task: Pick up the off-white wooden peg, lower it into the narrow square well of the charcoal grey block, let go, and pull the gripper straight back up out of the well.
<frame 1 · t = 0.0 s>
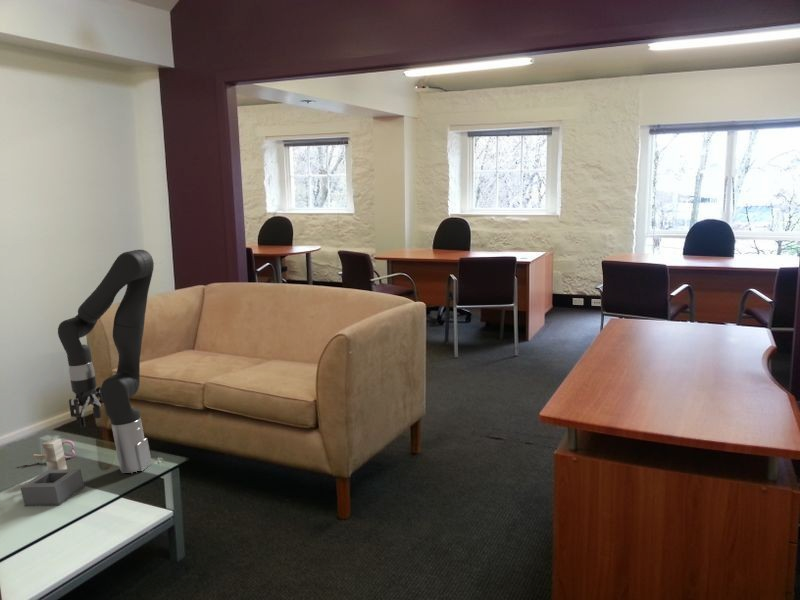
hand: (90, 422, 216), 17 cm above the table, tool pointing down, fingers open, 8 cm apart
decorative key: (47, 462, 232), on the table
wooden peg: (58, 474, 219), on the table
well block: (55, 496, 201), on the table
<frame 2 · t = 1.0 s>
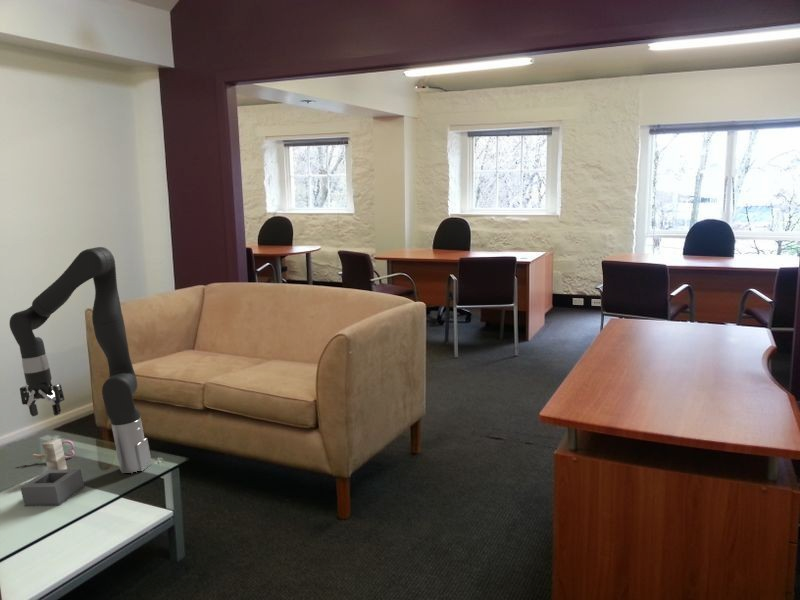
hand: (46, 415, 215), 21 cm above the table, tool pointing down, fingers open, 8 cm apart
nothing on the table moved.
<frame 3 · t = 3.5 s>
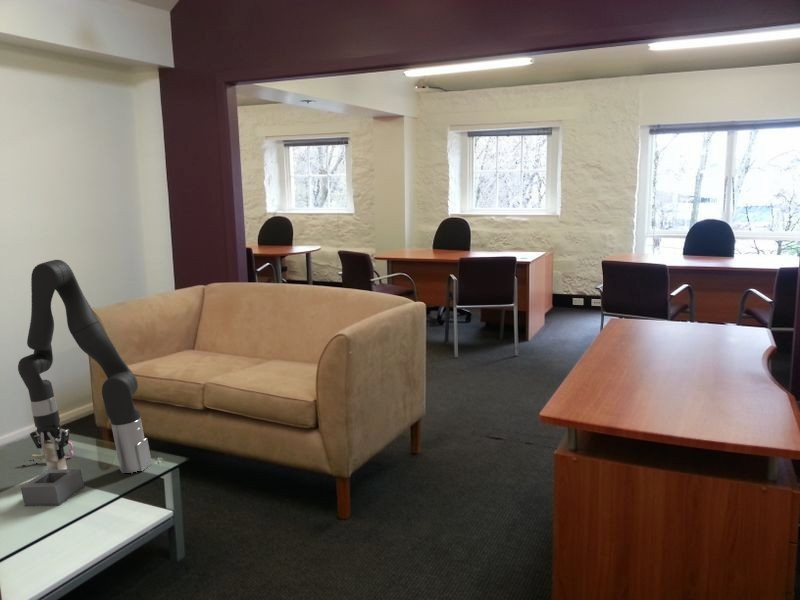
hand: (55, 458, 218), 6 cm above the table, tool pointing down, fingers closed on wooden peg, 4 cm apart
wooden peg: (58, 474, 219), on the table, touching gripper
everything else where it was.
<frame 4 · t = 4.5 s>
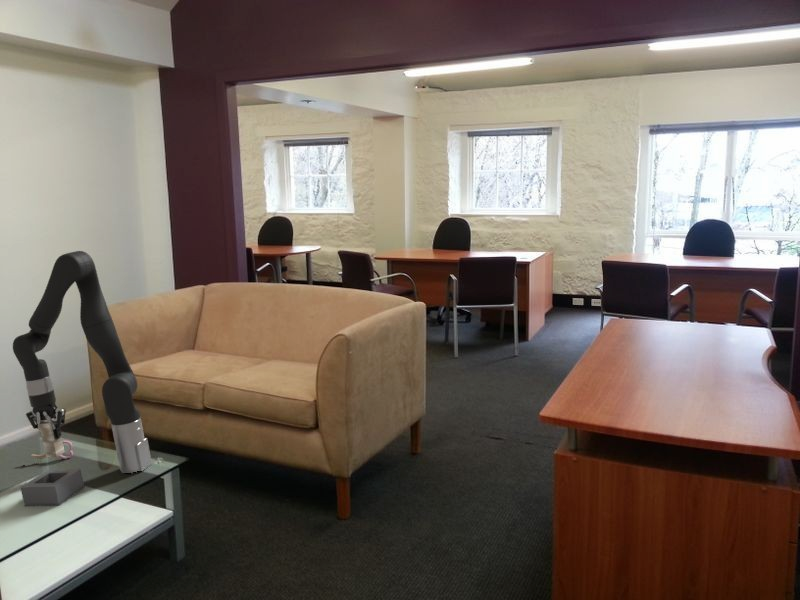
hand: (51, 438, 216), 13 cm above the table, tool pointing down, fingers closed on wooden peg, 4 cm apart
wooden peg: (55, 454, 217), point 7 cm above the table, touching gripper
everything else where it was.
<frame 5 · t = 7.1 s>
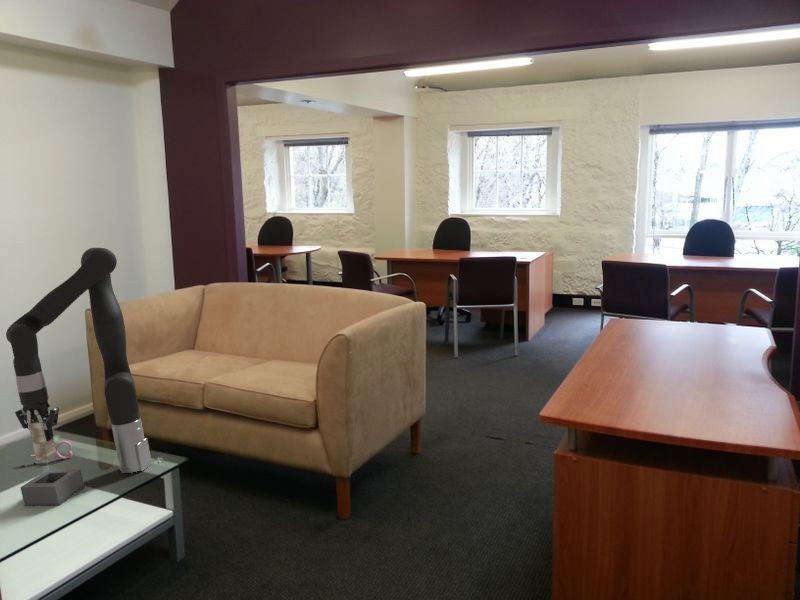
hand: (43, 439, 198), 19 cm above the table, tool pointing down, fingers closed on wooden peg, 4 cm apart
wooden peg: (46, 457, 199), point 13 cm above the table, touching gripper
everything else where it was.
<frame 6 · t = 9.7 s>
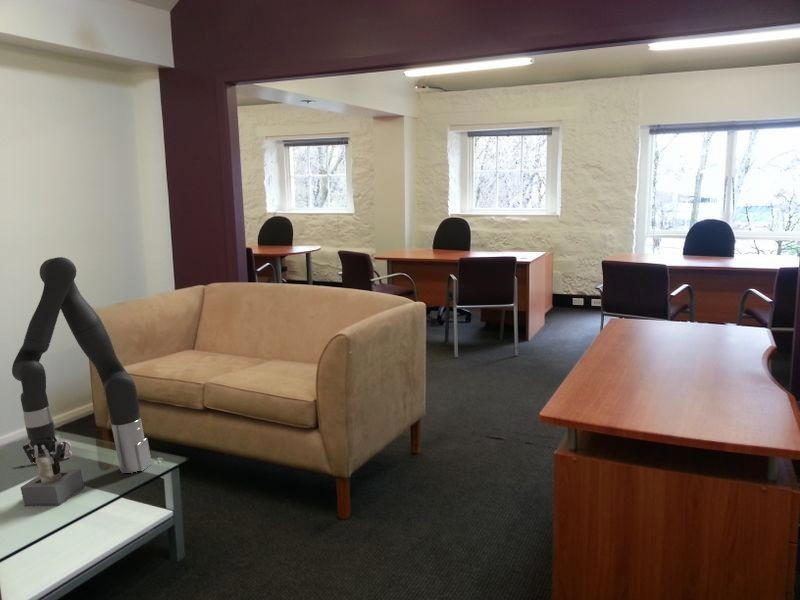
hand: (50, 473, 200), 8 cm above the table, tool pointing down, fingers closed on wooden peg, 3 cm apart
wooden peg: (54, 490, 201), point 2 cm above the table, touching gripper
when the fingers open (8 cm above the table, at t = 9.8 s): wooden peg drops 1 cm, resting on well block.
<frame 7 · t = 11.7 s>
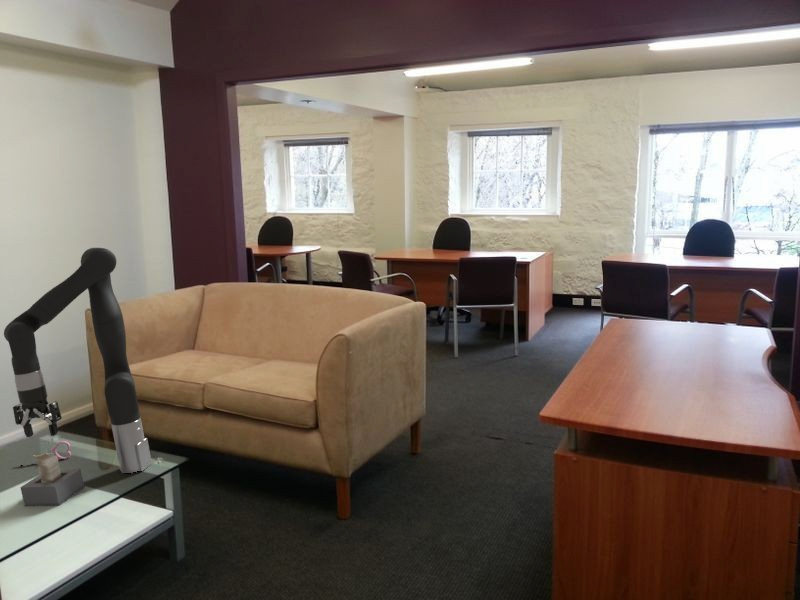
hand: (42, 435, 198), 20 cm above the table, tool pointing down, fingers open, 8 cm apart
wooden peg: (54, 494, 201), point 1 cm above the table, touching well block
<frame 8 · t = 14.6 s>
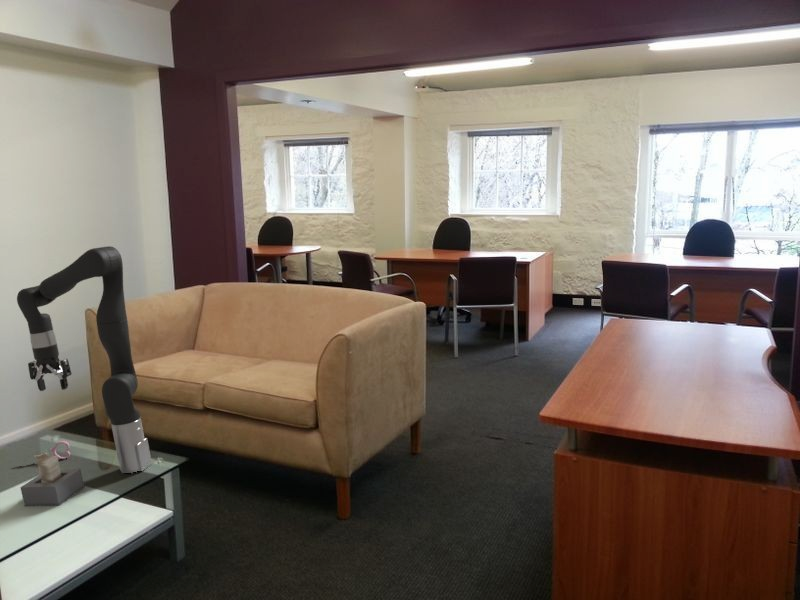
hand: (53, 389, 221), 28 cm above the table, tool pointing down, fingers open, 8 cm apart
at the end: wooden peg 0.1 cm off-centre on the well block, point 0.8 cm above the well block's base; wooden peg tilted 0°; the gripper is holding nothing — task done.
